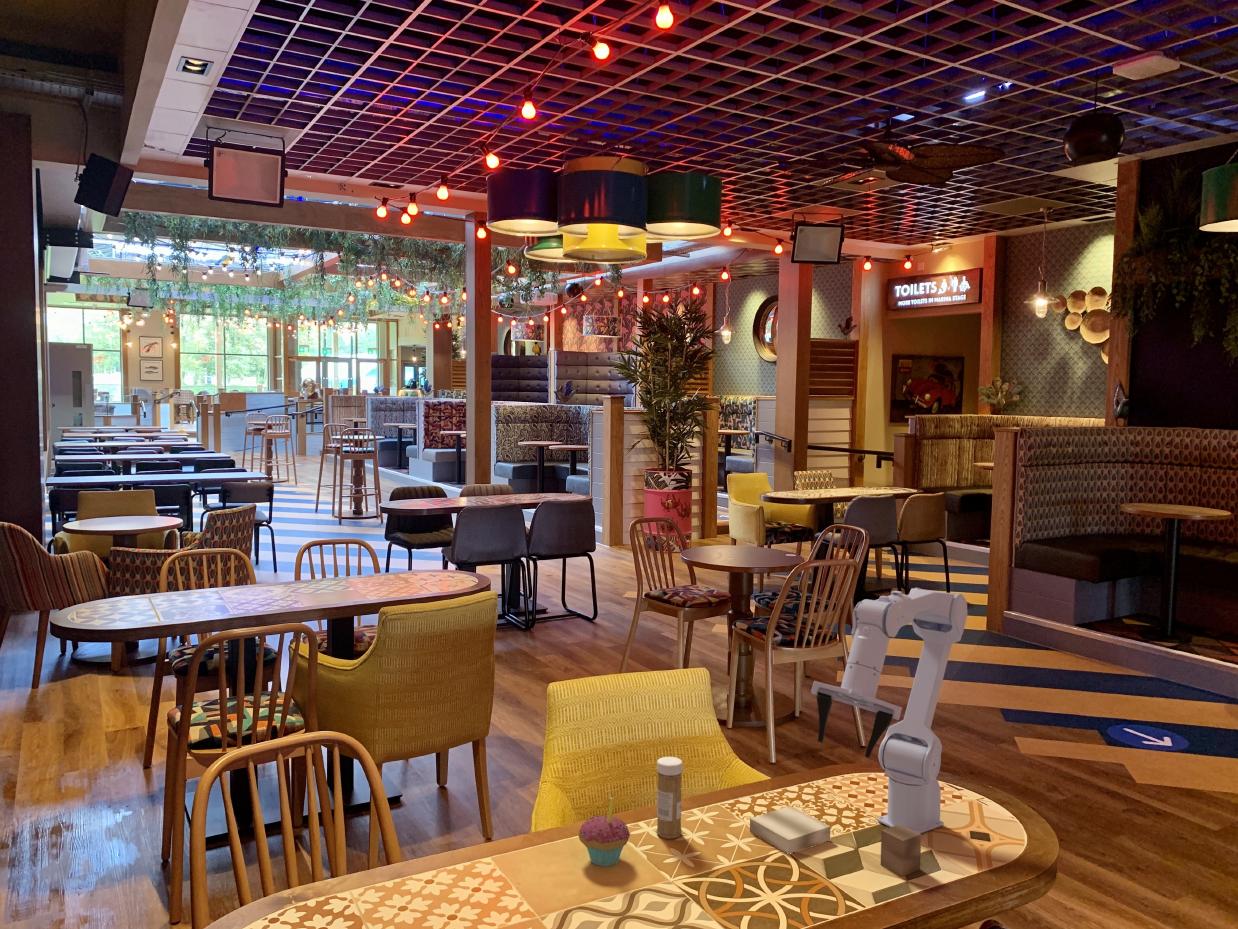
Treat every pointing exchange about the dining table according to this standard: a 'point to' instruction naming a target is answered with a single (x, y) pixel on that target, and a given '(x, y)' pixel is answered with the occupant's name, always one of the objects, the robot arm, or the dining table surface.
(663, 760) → the sprinkles bottle
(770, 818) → the birch block
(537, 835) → the dining table surface
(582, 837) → the cupcake
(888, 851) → the walnut block
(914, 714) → the robot arm
